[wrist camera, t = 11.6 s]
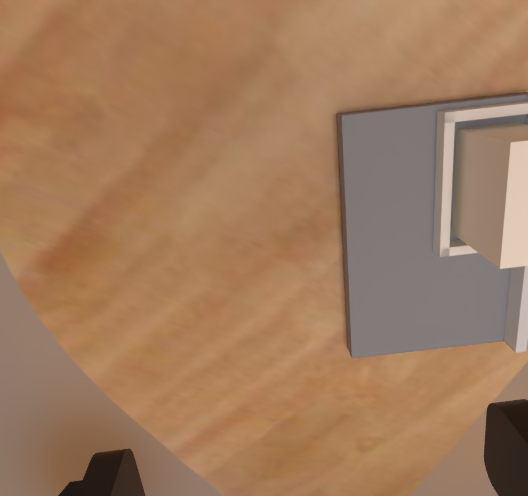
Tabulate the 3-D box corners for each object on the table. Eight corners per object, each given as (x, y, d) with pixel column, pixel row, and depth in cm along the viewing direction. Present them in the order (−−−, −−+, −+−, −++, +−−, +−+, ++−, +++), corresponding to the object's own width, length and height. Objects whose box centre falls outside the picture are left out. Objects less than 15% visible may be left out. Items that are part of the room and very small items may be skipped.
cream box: (456, 129, 37) (510, 142, 29) (519, 122, 37) (589, 133, 29) (451, 233, 40) (499, 268, 32) (509, 226, 40) (570, 260, 33)
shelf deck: (337, 113, 38) (347, 117, 34) (528, 92, 38) (559, 93, 34) (347, 347, 46) (356, 370, 42) (505, 329, 46) (528, 351, 42)
